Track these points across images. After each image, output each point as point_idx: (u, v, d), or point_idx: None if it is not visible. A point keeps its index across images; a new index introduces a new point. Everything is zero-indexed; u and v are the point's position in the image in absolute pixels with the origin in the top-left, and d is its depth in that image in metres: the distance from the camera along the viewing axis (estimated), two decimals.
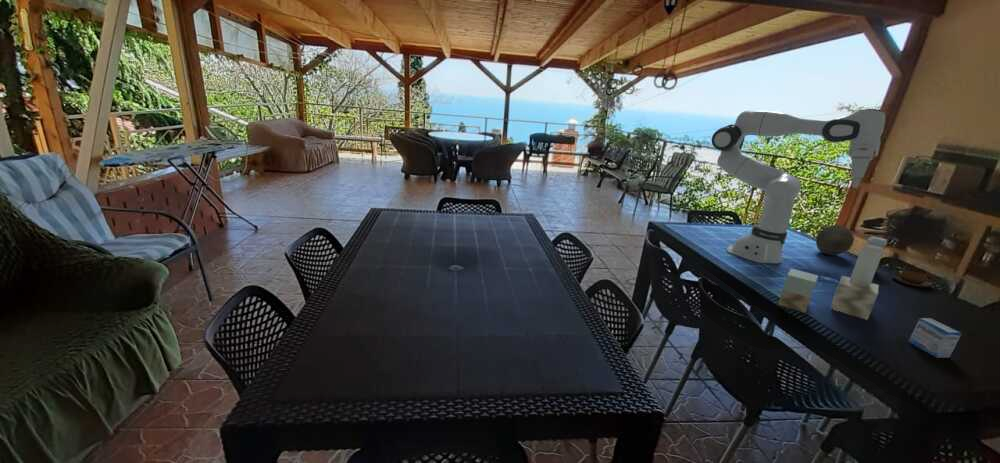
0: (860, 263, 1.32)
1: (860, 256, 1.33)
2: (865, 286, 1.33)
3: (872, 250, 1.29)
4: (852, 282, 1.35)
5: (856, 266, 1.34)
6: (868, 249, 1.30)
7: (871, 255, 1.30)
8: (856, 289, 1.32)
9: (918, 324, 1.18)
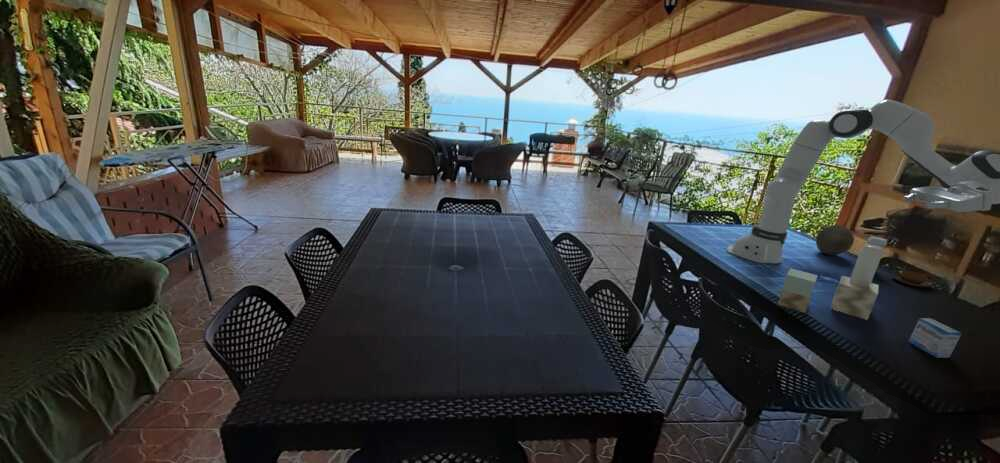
0: (860, 263, 1.32)
1: (860, 256, 1.33)
2: (865, 286, 1.33)
3: (872, 250, 1.29)
4: (852, 282, 1.35)
5: (856, 266, 1.34)
6: (868, 249, 1.30)
7: (871, 255, 1.30)
8: (856, 289, 1.32)
9: (918, 324, 1.18)
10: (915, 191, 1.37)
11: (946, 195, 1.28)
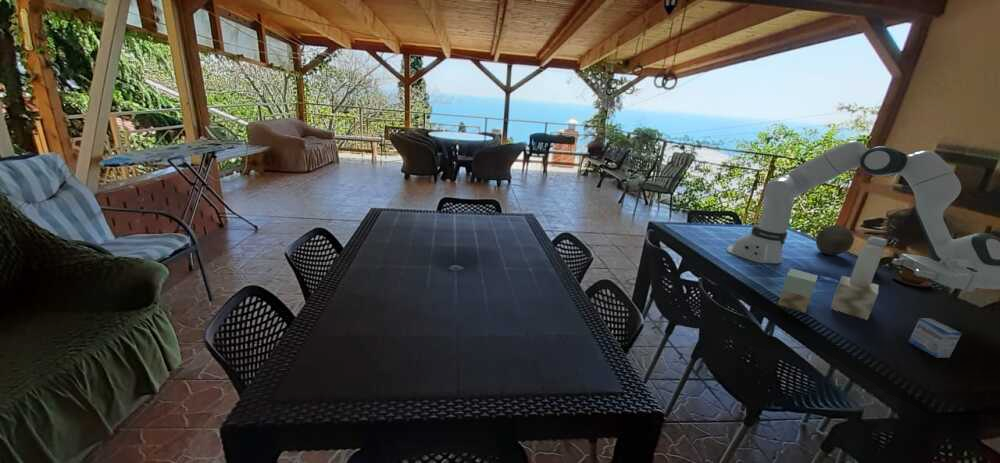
0: (860, 263, 1.32)
1: (860, 256, 1.33)
2: (865, 286, 1.33)
3: (872, 250, 1.29)
4: (852, 282, 1.35)
5: (856, 266, 1.34)
6: (868, 249, 1.30)
7: (871, 255, 1.30)
8: (856, 289, 1.32)
9: (918, 324, 1.18)
10: (905, 256, 1.36)
11: (936, 267, 1.27)
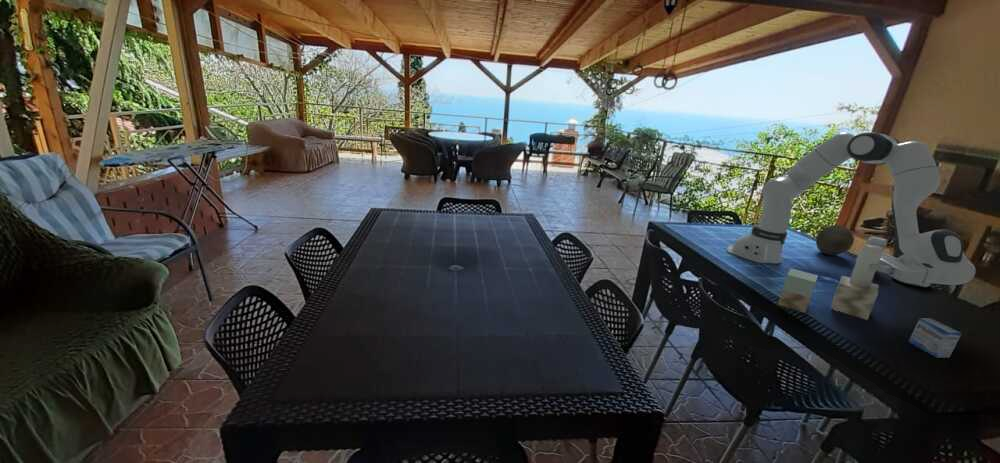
0: (860, 263, 1.32)
1: (860, 256, 1.33)
2: (865, 286, 1.33)
3: (872, 250, 1.29)
4: (852, 282, 1.35)
5: (856, 266, 1.34)
6: (868, 249, 1.30)
7: (871, 255, 1.30)
8: (856, 289, 1.32)
9: (918, 324, 1.18)
10: None
11: (893, 263, 1.29)
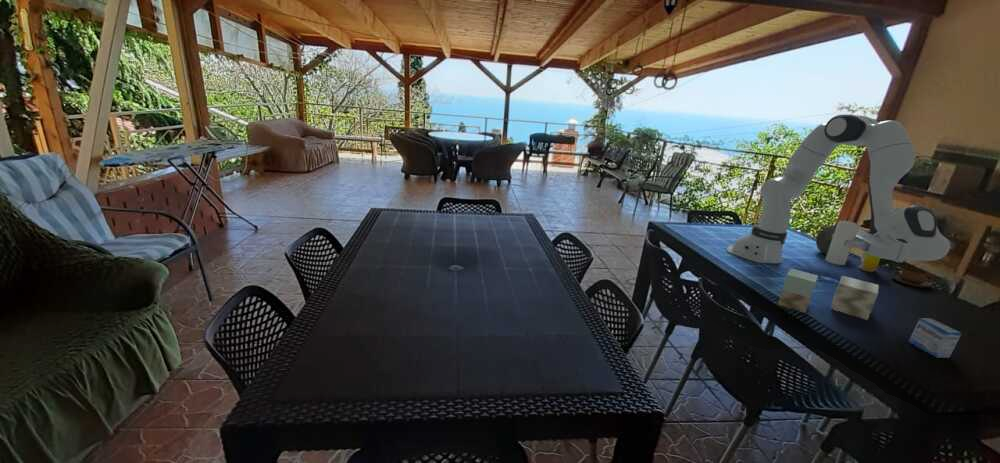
0: (836, 239, 1.31)
1: (836, 233, 1.31)
2: (841, 263, 1.31)
3: (847, 226, 1.27)
4: (828, 259, 1.33)
5: (832, 243, 1.32)
6: (843, 225, 1.28)
7: (846, 231, 1.28)
8: (856, 289, 1.32)
9: (918, 324, 1.18)
10: None
11: (869, 239, 1.27)
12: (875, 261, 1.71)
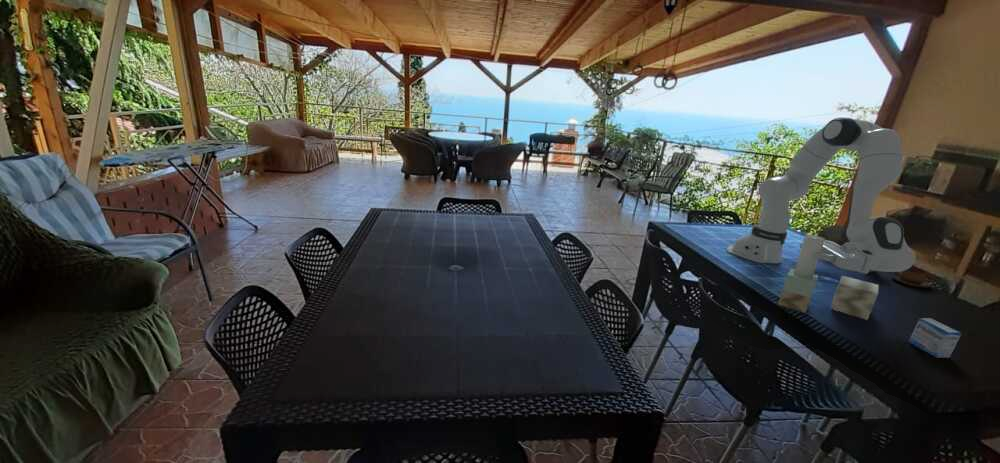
0: (802, 253, 1.33)
1: (802, 246, 1.33)
2: (808, 276, 1.34)
3: (813, 240, 1.30)
4: (796, 272, 1.36)
5: (799, 257, 1.35)
6: (809, 239, 1.31)
7: (812, 245, 1.31)
8: (856, 289, 1.32)
9: (918, 324, 1.18)
10: None
11: (835, 250, 1.29)
12: None
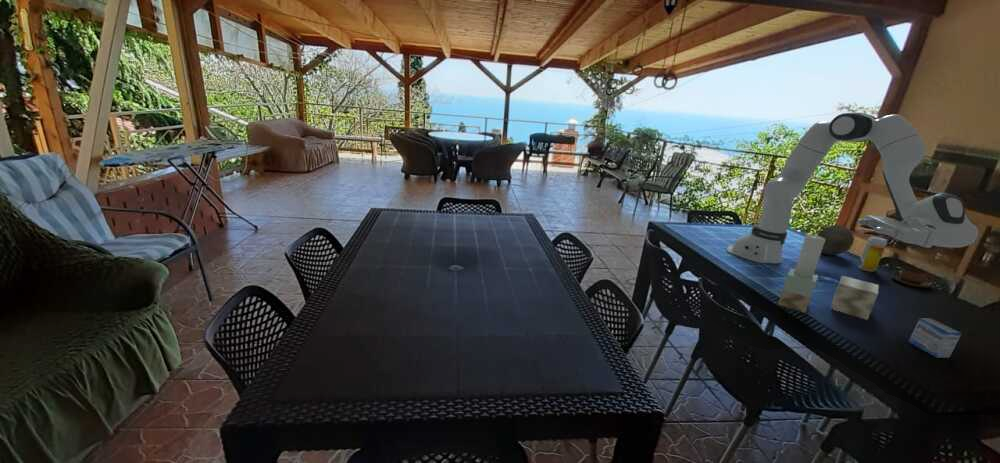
0: (803, 253, 1.33)
1: (803, 247, 1.33)
2: (808, 276, 1.34)
3: (814, 241, 1.30)
4: (796, 273, 1.36)
5: (800, 257, 1.35)
6: (810, 240, 1.31)
7: (813, 245, 1.30)
8: (856, 289, 1.32)
9: (918, 324, 1.18)
10: (870, 217, 1.39)
11: (897, 225, 1.30)
12: (875, 261, 1.71)
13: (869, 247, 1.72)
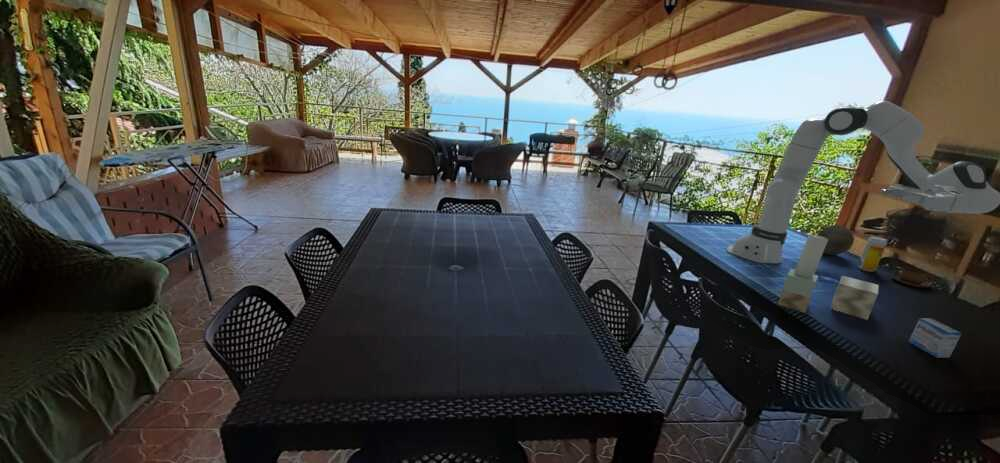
0: (806, 253, 1.33)
1: (806, 246, 1.33)
2: (809, 276, 1.34)
3: (818, 240, 1.30)
4: (797, 272, 1.36)
5: (802, 256, 1.34)
6: (814, 239, 1.31)
7: (816, 245, 1.30)
8: (856, 289, 1.32)
9: (918, 324, 1.18)
10: (893, 187, 1.42)
11: (921, 192, 1.32)
12: (875, 261, 1.71)
13: (869, 247, 1.72)
